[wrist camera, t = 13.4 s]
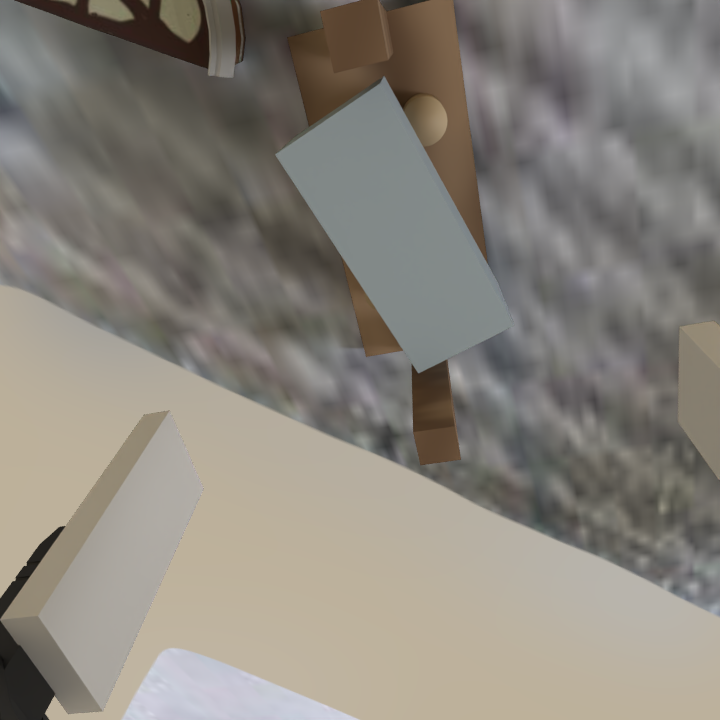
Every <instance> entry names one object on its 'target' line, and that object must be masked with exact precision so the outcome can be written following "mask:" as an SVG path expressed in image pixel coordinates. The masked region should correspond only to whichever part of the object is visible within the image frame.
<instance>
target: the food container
mask: <svg viewBox="0 0 720 720" xmlns="http://www.w3.org/2000/svg"><path fill="white" fill-rule="evenodd" d="M15 1H18V2H21V3H23V4H26V5H29V6H32V7H35V8H38V9H40V10H43V11H46V12H49V13H52V14H54V15H57V16H60V17H62V18H65V19H68V20H70V21H73V22H76V23H78V24H81V25H84V26H86V27H89V28H92V29H95V30H98V31H101V32H104V33H107V34H110V35H113V36H116V37H119V38H122V39H125V40H127V41H130V42H133V43H136V44H139V45H141V46H144V47H147V48H150V49H153V50H155V51H158V52H161V53H164V54H167V55H170V56H172V57H175V58H178V59H181V60H184V61H187V62H190V63H193V64H196V65H198V66H201V67H204V68H207V69H208V76H214V75H215V76H217V77H229V78H233V77H234V68H235V65H236V64H238V63H240V62H242V61H243V55H244V46H245V31H244V23H243V15H242V7H241V5H240V2H239V0H15Z"/></svg>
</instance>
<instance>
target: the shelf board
mask: <svg viewBox="0 0 720 720" xmlns="http://www.w3.org/2000/svg"><path fill="white" fill-rule="evenodd" d="M275 155H276V157H277V158H278V160H279V161H280V163H281V164H282V166H283V167H284V169H285V171H286V172H287V174H288V175H289V177H290V178H291V180H292V181H293V183H294V184H295V186H296V187H297V189H298V190H299V192H300V193H301V195H302V196H303V198H304V200H305V201H306V203H307V204H308V206H309V207H310V209H311V210H312V212H313V213H314V215H315V216H316V218H317V219H318V221H319V222H320V224H321V226H322V227H323V229H324V230H325V232H326V233H327V235H328V236H329V238H330V239H331V241H332V242H333V244H334V245H335V247H336V248H337V250H338V251H339V253H340V255H341V256H342V258H343V259H344V261H345V262H346V264H347V265H348V267H349V268H350V270H351V271H352V273H353V274H354V276H355V277H356V279H357V280H358V282H359V284H360V285H361V287H362V288H363V290H364V291H365V293H366V294H367V296H368V297H369V299H370V300H371V302H372V303H373V305H374V306H375V308H376V309H377V311H378V313H379V314H380V316H381V317H382V319H383V320H384V322H385V323H386V325H387V326H388V328H389V329H390V331H391V332H392V334H393V335H394V337H395V338H396V340H397V342H398V343H399V345H400V346H401V348H402V349H403V351H404V352H405V354H406V355H407V357H408V358H409V360H410V361H411V363H412V364H413V366H414V368H415V369H416V371H417V372H418V373H420V372H422V371H424V370H426V369H428V368H430V367H433V366H435V365H437V364H439V363H441V362H443V361H445V360H447V359H449V358H451V357H453V356H455V355H457V354H459V353H461V352H463V351H465V350H467V349H469V348H471V347H473V346H475V345H477V344H479V343H481V342H483V341H485V340H487V339H489V338H491V337H493V336H495V335H497V334H499V333H501V332H503V331H505V330H507V329H509V328H511V327H513V326H514V323H513V321H512V318H511V315H510V313H509V310H508V308H507V305H506V303H505V300H504V297H503V295H502V292H501V290H500V287H499V284H498V282H497V280H496V278H495V277H494V275H493V273H492V271H491V269H490V268H489V266H488V264H487V262H486V260H485V258H484V257H483V255H482V253H481V251H480V249H479V248H478V246H477V244H476V242H475V240H474V238H473V237H472V235H471V233H470V231H469V229H468V228H467V226H466V224H465V222H464V220H463V218H462V217H461V215H460V213H459V211H458V209H457V207H456V206H455V204H454V202H453V200H452V198H451V197H450V195H449V193H448V191H447V189H446V187H445V186H444V184H443V182H442V180H441V178H440V177H439V175H438V173H437V171H436V169H435V167H434V166H433V164H432V162H431V160H430V158H429V157H428V155H427V153H426V151H425V149H424V147H423V146H422V144H421V142H420V140H419V138H418V137H417V135H416V133H415V131H414V129H413V127H412V126H411V124H410V122H409V120H408V118H407V117H406V115H405V113H404V111H403V109H402V107H401V106H400V104H399V102H398V100H397V98H396V96H395V95H394V93H393V91H392V89H391V87H390V86H389V84H388V82H387V80H386V78H385V76H383V77H382V78H380V79H379V80H377V81H376V82H374V83H373V84H371V85H370V86H369V87H367V88H366V89H364V90H363V91H361V92H360V93H358V94H357V95H355V96H354V97H352V98H351V99H349V100H348V101H347V102H345V103H344V104H342V105H341V106H339V107H338V108H336V109H335V110H333V111H332V112H330V113H329V114H327V115H326V116H325V117H323V118H322V119H320V120H319V121H317V122H316V123H314V124H313V125H311V126H310V127H308V128H307V129H305V130H304V131H303V132H301V133H300V134H298V135H297V136H295V137H294V138H293V139H292V140H291V141H290V142H289V143H288V144H287V145H285V146H284V147H283V148H282V149H281V150H280V151H279V152H278V153H276V154H275Z"/></svg>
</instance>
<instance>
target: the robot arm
mask: <svg viewBox="0 0 720 720" xmlns="http://www.w3.org/2000/svg"><path fill="white" fill-rule="evenodd" d="M678 423H679V424H680V426H681V427H682V429H683V430H684V431H685V433H686V434H687V436H688V437H689V438H690V440H691V441H692V443H693V444H694V445H695V447H696V448H697V450H698V451H699V452H700V454H701V455H702V457H703V458H704V459H705V461H706V462H707V464H708V465H709V466H710V468H711V469H712V471H713V472H714V474H715V475H716V476H717V478H718V479H719V481H720V326H719V325H718V324H717V323H716V322H715V321H710V322H704V323H698V324H691V325H685V326H679V386H678ZM203 489H204V488H203V486H202V483H201V481H200V479H199V476H198V474H197V472H196V470H195V467H194V465H193V463H192V460H191V458H190V456H189V453H188V451H187V449H186V447H185V444H184V442H183V440H182V438H181V435H180V433H179V431H178V428H177V426H176V424H175V422H174V419H173V417H172V415H171V412H170V411H163V412H157V413H151V414H146V415H143V417H142V418H141V420H140V421H139V423H138V424H137V425H136V427H135V428H134V430H133V431H132V433H131V434H130V435H129V437H128V438H127V440H126V441H125V443H124V444H123V445H122V447H121V448H120V450H119V451H118V452H117V454H116V455H115V457H114V458H113V460H112V461H111V463H110V464H109V465H108V467H107V469H105V471H104V472H103V474H102V475H101V477H100V478H99V480H98V481H97V482H96V484H95V485H94V487H93V488H92V489H91V491H90V492H89V494H88V495H87V497H86V498H85V499H84V501H83V502H82V504H81V505H80V506H79V508H78V509H77V511H76V512H75V514H74V515H73V517H72V518H71V519H70V521H69V522H68V524H67V525H66V526H62V527H59V528H58V529H57V530H55V531H54V532H53V533H52V534H51V535H50V536H49V537H48V538H46V539H45V540H44V541H43V542H42V543H41V544H40V545H39V546H38V548H37V549H36V550H35V552H34V553H33V554H32V556H31V557H30V558H29V560H28V561H27V566H24V567H23V568H22V570H21V571H20V572H19V574H18V575H17V576H16V581H13V582H12V583H11V585H10V586H9V587H8V589H7V590H6V591H5V593H4V594H3V595H2V597H1V598H0V720H49V719H48V717H47V716H46V715H45V712H46V710H47V708H48V706H49V704H50V703H51V700H52V699H53V697H54V695H55V697H56V698H57V699H58V701H59V702H60V704H61V705H62V706H63V708H64V709H65V711H66V712H67V713H68V714H74V713H87V712H99V711H103V710H104V708H105V705H106V703H107V701H108V699H109V697H110V694H111V692H112V690H113V688H114V686H115V683H116V681H117V679H118V677H119V675H120V672H121V670H122V668H123V666H124V663H125V661H126V659H127V656H128V655H129V652H130V650H131V648H132V646H133V644H134V641H135V639H136V637H137V635H138V633H139V630H140V628H141V626H142V624H143V622H144V619H145V617H146V615H147V613H148V610H149V608H150V606H151V604H152V602H153V600H154V597H155V595H156V593H157V591H158V588H159V586H160V584H161V582H162V580H163V577H164V575H165V573H166V571H167V569H168V566H169V564H170V562H171V560H172V558H173V555H174V553H175V551H176V549H177V547H178V544H179V542H180V540H181V538H182V535H183V533H184V531H185V529H186V527H187V525H188V522H189V520H190V518H191V516H192V514H193V511H194V509H195V507H196V504H197V502H198V500H199V498H200V496H201V493H202V491H203Z"/></svg>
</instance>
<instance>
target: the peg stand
mask: <svg viewBox="0 0 720 720" xmlns="http://www.w3.org/2000/svg"><path fill="white" fill-rule="evenodd" d="M320 13H321V18H322V22H323V27H324V28H322V29H318V30H314V31H310V32H307V33H303V34H299V35H295V36H291V37H287V39H288V43H289V47H290V51H291V55H292V59H293V63H294V67H295V71H296V75H297V79H298V83H299V87H300V91H301V95H302V99H303V104H304V108H305V112H306V116H307V120H308V124H309V127H310V126H311V125H313V124H314V123H316V122H317V121H319V120H320V119H322V118H323V117H325V116H326V115H327V114H329V113H330V112H332V111H333V110H335V109H336V108H338V107H339V106H341V105H342V104H344V103H345V102H347V101H348V100H349V99H351V98H352V97H354V96H355V95H357V94H358V93H360V92H361V91H363V90H364V89H366V88H367V87H369V86H370V85H371V84H373V83H374V82H376V81H377V80H379V79H380V78H382V77H383V76H385V78H386V80H387V82H388V84H389V86H390V87H391V89H392V91H393V93H394V95H395V96H396V98H397V100H398V102H399V104H400V106H401V107H402V109H403V111H404V113H405V115H406V117H407V118H408V120H409V122H410V124H411V126H412V127H413V129H414V131H415V133H416V135H417V137H418V138H419V140H420V142H421V144H422V146H423V147H424V149H425V151H426V153H427V155H428V157H429V158H430V160H431V162H432V164H433V166H434V167H435V169H436V171H437V173H438V175H439V177H440V178H441V180H442V182H443V184H444V186H445V187H446V189H447V191H448V193H449V195H450V197H451V198H452V200H453V202H454V204H455V206H456V207H457V209H458V211H459V213H460V215H461V217H462V218H463V220H464V222H465V224H466V226H467V228H468V229H469V231H470V233H471V235H472V237H473V238H474V240H475V242H476V244H477V246H478V248H479V249H480V251H481V253H482V255H483V257H484V258H485V260H486V262H487V254H486V247H485V239H484V232H483V224H482V216H481V209H480V201H479V194H478V186H477V179H476V171H475V164H474V156H473V149H472V141H471V133H470V126H469V118H468V111H467V103H466V96H465V88H464V81H463V73H462V66H461V58H460V50H459V43H458V35H457V28H456V20H455V13H454V5H453V0H429V1H425V2H421V3H417V4H413V5H410V6H406V7H402V8H398V9H394V10H390V11H387V12H386V11H385V9H384V7H383V6H382V4H381V3H380V1H379V0H361V1H357V2H353V3H350V4H346V5H342V6H338V7H335V8H331V9H327V10H323V11H320ZM341 257H342V256H341ZM342 261H343V265H344V269H345V273H346V277H347V281H348V285H349V289H350V293H351V298H352V302H353V306H354V310H355V314H356V318H357V322H358V326H359V330H360V334H361V338H362V342H363V346H364V350H365V354H366V357H368V356H374V355H380V354H386V353H391V352H397V351H403V349H402V348H401V346H400V345H399V343H398V342H397V340H396V338H395V337H394V335H393V334H392V332H391V331H390V329H389V328H388V326H387V325H386V323H385V322H384V320H383V319H382V317H381V316H380V314H379V313H378V311H377V309H376V308H375V306H374V305H373V303H372V302H371V300H370V299H369V297H368V296H367V294H366V293H365V291H364V290H363V288H362V287H361V285H360V284H359V282H358V280H357V279H356V277H355V276H354V274H353V273H352V271H351V270H350V268H349V267H348V265H347V264H346V262H345V261H344V259H343V258H342ZM487 264H488V262H487ZM412 399H413V433H414V438H415V442H416V447H417V451H418V456H419V460H420V465H425V464H432V463H440V462H447V461H454V460H461V457H460V450H459V442H458V435H457V428H456V420H455V413H454V405H453V398H452V391H451V383H450V376H449V368H448V361H447V360H445V361H443V362H441V363H439V364H437V365H435V366H433V367H430V368H428V369H426V370H424V371H422V372H420V373H418V372H417V371H416V369H415V368H414V366H413V364H412Z"/></svg>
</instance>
